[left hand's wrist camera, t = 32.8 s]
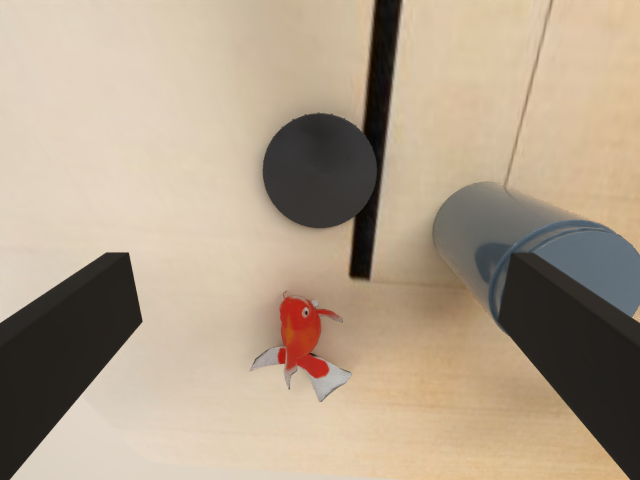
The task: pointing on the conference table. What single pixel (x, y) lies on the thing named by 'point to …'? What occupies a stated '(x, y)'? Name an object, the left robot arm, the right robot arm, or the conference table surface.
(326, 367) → the fish
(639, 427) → the left robot arm
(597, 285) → the jar
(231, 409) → the conference table surface
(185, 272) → the conference table surface
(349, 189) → the lid
